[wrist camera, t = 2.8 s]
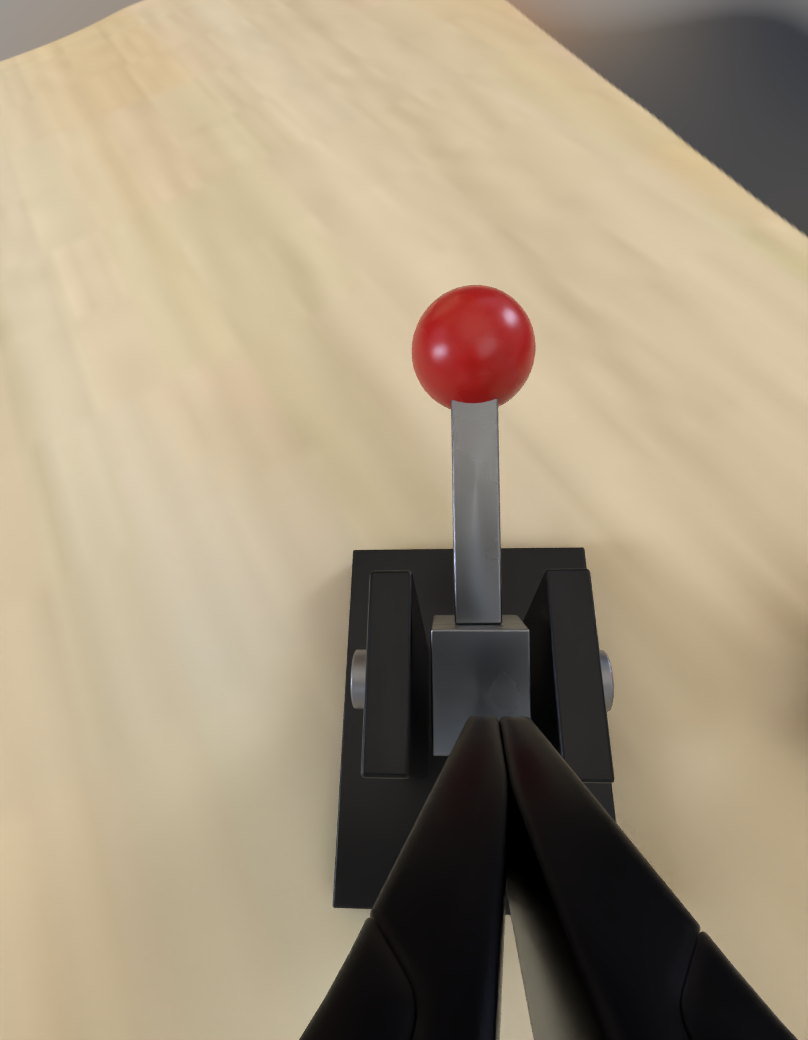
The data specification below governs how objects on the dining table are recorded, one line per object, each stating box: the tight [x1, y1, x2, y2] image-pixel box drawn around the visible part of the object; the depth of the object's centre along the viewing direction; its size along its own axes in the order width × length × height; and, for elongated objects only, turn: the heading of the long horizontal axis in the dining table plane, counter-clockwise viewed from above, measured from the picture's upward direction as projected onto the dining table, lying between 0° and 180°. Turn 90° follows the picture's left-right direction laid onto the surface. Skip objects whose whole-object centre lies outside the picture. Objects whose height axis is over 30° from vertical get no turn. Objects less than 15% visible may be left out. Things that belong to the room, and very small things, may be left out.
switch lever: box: [412, 285, 535, 756], centre depth 14 cm, size 11×3×3 cm, turn 0°
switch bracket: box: [333, 548, 616, 915], centre depth 17 cm, size 12×9×10 cm
